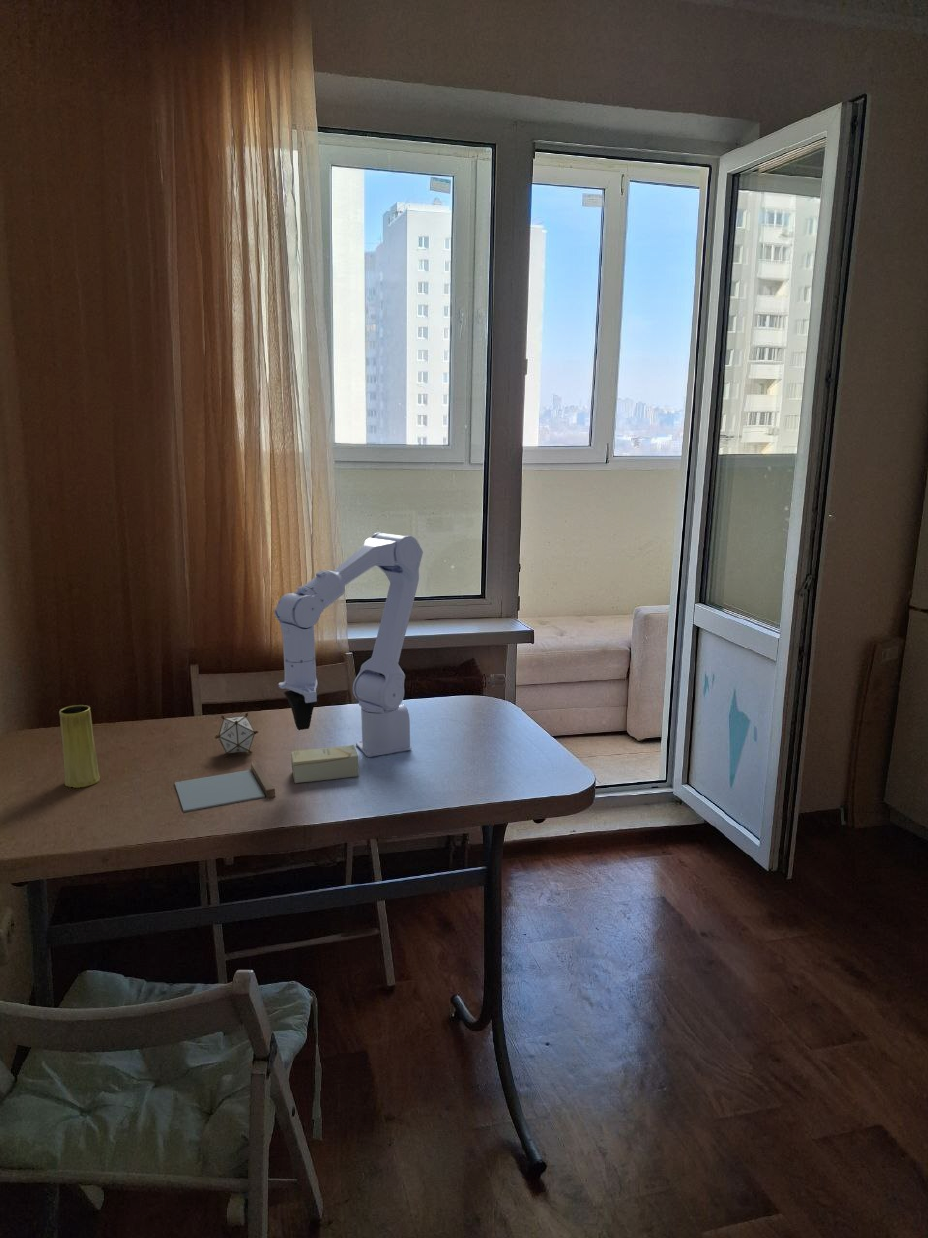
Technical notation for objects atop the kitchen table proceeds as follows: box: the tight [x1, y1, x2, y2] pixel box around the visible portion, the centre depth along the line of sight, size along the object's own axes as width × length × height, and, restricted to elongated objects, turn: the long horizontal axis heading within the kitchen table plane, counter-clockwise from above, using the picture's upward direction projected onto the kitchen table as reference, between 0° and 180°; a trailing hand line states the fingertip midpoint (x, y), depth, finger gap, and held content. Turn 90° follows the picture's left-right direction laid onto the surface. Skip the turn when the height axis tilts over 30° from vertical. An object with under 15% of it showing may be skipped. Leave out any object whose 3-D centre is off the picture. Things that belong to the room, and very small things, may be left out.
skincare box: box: [290, 744, 360, 784], centre depth 165 cm, size 6×4×12 cm
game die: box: [214, 712, 259, 758], centre depth 175 cm, size 9×8×10 cm
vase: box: [58, 704, 101, 789], centre depth 161 cm, size 6×6×14 cm
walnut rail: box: [250, 761, 276, 799], centre depth 161 cm, size 2×14×2 cm, turn 25°
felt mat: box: [174, 769, 266, 813], centre depth 158 cm, size 14×13×1 cm
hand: (302, 728), depth 163 cm, fingers closed
